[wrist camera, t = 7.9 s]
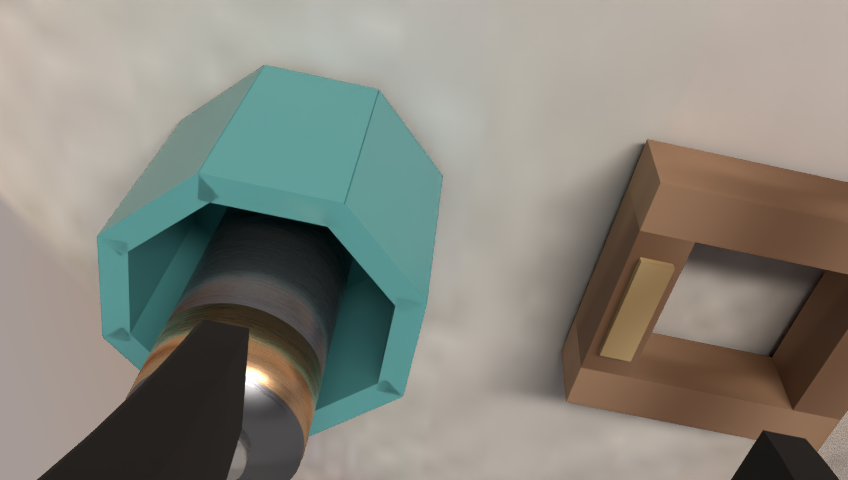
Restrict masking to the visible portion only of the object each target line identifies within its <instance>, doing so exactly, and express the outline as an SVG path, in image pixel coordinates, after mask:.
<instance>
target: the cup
mask: <svg viewBox="0 0 848 480" xmlns="http://www.w3.org/2000/svg"><path fill="white" fill-rule="evenodd" d="M378 90H379V89H374V88H370V87H365V86H360V85H356V84H351V83H346V82H342V81H337V80H332V79H328V78H323V77H318V76H314V75H309V74H305V73H300V72H295V71H291V70H286V69H281V68H277V67H272V66H267V65H265V66H264V65H263V66H262V67H260V68H259V69H257V70H256V71H254V72H253V73H251V74H250V75H248V76H247V77H245V78H244V79H242V80H241V81H239V82H238V83H236V84H235V85H233V86H232V87H230V88H229V89H227V90H226V91H224V92H223V93H221V94H220V95H218V96H217V97H215V98H214V99H212V100H211V101H209V102H208V103H206V104H205V105H203V106H202V107H200V108H199V109H197V110H196V111H194V112H193V113H191V114H190V115H188V116H187V117H185V118H184V119H182V120H181V121H180V123H179V124H178V126H177V127H176V128H175V130H174V131H173V132H172V134H171V135H170V137H169V138H168V139H167V141H166V142H165V143H164V145H163V146H162V148H161V149H160V150H159V152H158V153H157V154H156V156H155V157H154V159H153V160H152V161H151V163H150V164H149V165H148V167H147V168H146V169H145V171H144V172H143V174H142V175H141V176H140V178H139V179H138V180H137V182H136V183H135V185H134V186H133V187H132V189H131V190H130V191H129V193H128V194H127V196H126V197H125V198H124V200H123V201H122V202H121V204H120V205H119V207H118V208H117V209H116V211H115V212H114V213H113V215H112V216H111V218H110V219H109V220H108V222H107V223H106V224H105V226H104V227H103V228H102V230H101V231H100V233H99V234H98V236H97V244H98V262H99V281H100V299H101V318H102V336H103V338H104V339H105V340H107V341H108V342H109V343H110V344H111V345H112V346H113V347H114V348H116V349H117V350H118V351H119V352H120V353H121V354H122V355H123V356H124V357H125V358H127V359H128V360H129V361H130V362H131V363H132V364H133V365H135V366H136V367H137V368H138V369H139V370H140V371H141V369H142V367H143V365H144V363H145V361H146V359H147V357H148V356H149V354H150V352H151V350H152V348H153V346H154V344H155V342H156V340H157V338H158V336H159V335H160V333H161V331H162V329H163V328H164V326H165V325H166V324H167V322H168V320H169V318H170V316H171V314H172V312H173V310H174V308H175V306H176V304H177V302H178V301H179V299H180V297H181V295H182V293H183V291H184V289H185V287H186V285H187V283H188V281H189V279H190V278H191V276H192V274H193V272H194V270H195V268H196V266H197V264H198V262H199V260H200V258H201V257H202V255H203V253H204V251H205V249H206V247H207V245H208V243H209V241H210V239H211V237H212V235H213V234H214V232H215V230H216V228H217V226H218V224H219V222H220V220H221V218H222V216H223V214H224V212H225V211H226V209H227V207H228V206H230V207H235V208H240V209H244V210H249V211H254V212H259V213H264V214H269V215H273V216H278V217H283V218H288V219H293V220H298V221H303V222H307V223H312V224H317V225H322V226H327V227H328V228H329V229H330V230H331V231H332V232H333V234H334V235H335V236H336V237H337V238H338V239H339V241H340V242H341V243H342V244H343V245H344V246H345V248H346V249H347V250H348V251H349V252H350V253H351V255H352V256H353V257H354V258H353V262H352V265H351V269H350V273H349V277H348V281H347V285H346V288H345V292H344V296H343V300H342V304H341V308H340V312H339V315H338V319H337V323H336V327H335V331H334V335H333V339H332V342H331V346H330V350H329V354H328V358H327V362H326V366H325V369H324V373H323V377H322V385H321V389H320V393H319V397H318V401H317V405H316V408H315V412H314V416H313V420H312V424H311V428H310V432H309V436H311V435H314V434H316V433H318V432H321V431H323V430H325V429H328V428H330V427H332V426H335V425H337V424H339V423H342V422H344V421H347V420H349V419H351V418H354V417H356V416H358V415H361V414H363V413H365V412H368V411H370V410H373V409H375V408H377V407H380V406H382V405H384V404H387V403H389V402H391V401H394V400H396V399H399V398H401V397H402V396H403V395H404V391H405V387H406V383H407V379H408V375H409V371H410V368H411V364H412V360H413V356H414V352H415V348H416V344H417V340H418V336H419V333H420V329H421V325H422V321H423V317H424V313H425V309H426V305H427V299H428V291H429V283H430V275H431V267H432V259H433V251H434V243H435V235H436V226H437V218H438V210H439V202H440V194H441V186H442V178H443V176H442V174H441V173H440V171H439V170H438V168H437V167H436V166H435V164H434V163H433V162H432V160H431V159H430V158H429V156H428V155H427V154H426V152H425V151H424V149H423V148H422V147H421V145H420V144H419V143H418V141H417V140H416V139H415V137H414V136H413V135H412V133H411V132H410V131H409V129H408V128H407V126H406V125H405V124H404V122H403V121H402V120H401V118H400V117H399V116H398V114H397V113H396V112H395V110H394V109H393V107H392V106H391V105H390V103H389V102H388V101H387V99H386V98H385V97H384V95H383V94H382V93H381V91H380V90H379V91H378ZM309 436H308V437H309Z"/></svg>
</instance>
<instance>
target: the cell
mask: <svg viewBox="0 0 848 480" xmlns="http://www.w3.org/2000/svg"><path fill="white" fill-rule="evenodd" d="M353 258H354V257H353V256H352V255H351V253H350V252H349V251H348V250H347V249H346V248H345V246H344V245H343V244H342V243H341V242H340V241H339V239H338V238H337V237H336V236H335V235H334V234H333V232H332V231H331V230H330V229H329V228H328V227H327V226H322V225H317V224H312V223H307V222H303V221H298V220H293V219H288V218H283V217H278V216H273V215H269V214H264V213H259V212H254V211H249V210H244V209H240V208H235V207H230V206H228V207H227V209H226V211H225V212H224V214H223V216H222V218H221V220H220V222H219V224H218V226H217V228H216V230H215V232H214V234H213V235H212V237H211V239H210V241H209V243H208V245H207V247H206V249H205V251H204V253H203V255H202V257H201V258H200V260H199V262H198V264H197V266H196V268H195V270H194V272H193V274H192V276H191V278H190V279H189V281H188V283H187V285H186V287H185V289H184V291H183V293H182V295H181V297H180V299H179V301H178V302H177V304H176V306H175V308H174V310H173V312H172V314H171V316H170V318H169V320H168V322H167V324H166V325H165V326H164V328H163V329H162V331H161V333H160V335H159V336H158V338H157V340H156V342H155V344H154V346H153V348H152V350H151V352H150V354H149V356H148V357H147V359H146V361H145V363H144V365H143V367H142V369H141V371H140V373H139V375H138V377H137V378H136V381H135V382H134V384H133V386H132V388H131V390H130V392H129V394H128V396H127V398H128V397H129V396H130V395H131V394H132V393H133V392H135V391H136V390H137V389H138V388H139V387H140V385H141V384H142V383H143V382H144V381H145V380H146V379H147V378H148V377H149V376H150V375H151V374H152V373H153V372H154V371H155V370H156V369H157V368H158V367H159V366H160V365H161V364H162V363H163V362H164V361H165V360H166V359H167V357H168V356H169V355H170V354H171V353H172V352H173V351H174V350H175V349H176V348H177V346H178V345H179V344H180V343H181V342H182V341H183V340H184V339H185V338H186V336H187V335H188V334H189V333H190V332H191V331H192V329H193V328H194V327H195V326H196V325H197V324H198V323H200V322H202V321H204V320H210V321H215V322H220V323H225V324H230V325H235V326H240V327H245V328H250V329H249V343H248V356H247V369H246V382H245V395H244V408H243V421H242V430H241V434H240V437H239V440H238V444H237V447H236V450H235V454H234V457H233V460H232V464H231V467H230V470H229V473H228V477H227V480H290V479H291V478H292V477H293V476H294V474H295V473H296V471H297V469H298V467H299V465H300V462H301V460H302V458H303V455H304V451H305V447H306V443H307V439H308V436H309V432H310V428H311V424H312V420H313V416H314V412H315V408H316V405H317V401H318V397H319V393H320V389H321V385H322V377H323V373H324V369H325V366H326V362H327V358H328V354H329V350H330V346H331V342H332V339H333V335H334V331H335V327H336V323H337V319H338V315H339V312H340V308H341V304H342V300H343V296H344V292H345V288H346V285H347V281H348V277H349V273H350V269H351V265H352V262H353ZM127 398H126V399H127Z"/></svg>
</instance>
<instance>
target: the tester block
mask: <svg viewBox="0 0 848 480" xmlns="http://www.w3.org/2000/svg"><path fill="white" fill-rule="evenodd" d="M695 242H696V243H701V244H706V245H711V246H715V247H720V248H725V249H730V250H734V251H739V252H744V253H749V254H754V255H758V256H763V257H768V258H773V259H777V260H782V261H787V262H792V263H796V264H801V265H806V266H811V267H815V268H820V269H825V270H826V271H825V273H824V274H823V276H822V277H821V279H820V281H819V282H818V284H817V286H816V287H815V289H814V290H813V292H812V294H811V295H810V297H809V298H808V300H807V302H806V303H805V305H804V307H803V308H802V310H801V311H800V313H799V315H798V316H797V318H796V319H795V321H794V323H793V324H792V326H791V328H790V329H789V331H788V332H787V334H786V336H785V337H784V339H783V341H782V342H781V344H780V345H779V347H778V349H777V350H776V352H775V353H774V355H773V357H768V356H763V355H758V354H753V353H748V352H743V351H739V350H734V349H729V348H724V347H719V346H714V345H709V344H704V343H699V342H695V341H690V340H685V339H680V338H675V337H670V336H665V335H660V334H655V333H652V331H653V328H654V326H655V324H656V322H657V320H658V318H659V316H660V314H661V312H662V310H663V308H664V306H665V304H666V302H667V300H668V298H669V295H670V293H671V291H672V289H673V287H674V285H675V283H676V281H677V279H678V277H679V275H680V273H681V271H682V269H683V267H684V265H685V263H686V260H687V258H688V256H689V254H690V252H691V250H692V248H693V246H694V244H695ZM562 358H563V370H564V382H565V394H566V402H569V403H574V404H579V405H584V406H589V407H594V408H599V409H604V410H609V411H614V412H620V413H625V414H630V415H635V416H640V417H645V418H650V419H655V420H660V421H665V422H670V423H675V424H680V425H685V426H690V427H695V428H700V429H705V430H710V431H715V432H720V433H725V434H730V435H735V436H740V437H745V438H750V439H755V440H757V439H758V437H759V436H760V434H761V432H762V431H763V430H765V431H770V432H775V433H780V434H785V435H790V436H795V437H800V438H805V439H806V440H807V441H808V442H809V443H810V444H811V445H812V447H813V448H814V449H815V450H816V451H818V450H819V449H820V447H821V446H822V445H823V443H824V442H825V440H826V439H827V438H828V436H829V435H830V434H831V432H832V431H833V430H834V428H835V427H836V425H837V424H838V423H839V421H840V420H841V419H842V417H843V416H844V415H845V413H846V412H847V411H848V182H843V181H839V180H834V179H829V178H825V177H820V176H815V175H811V174H806V173H802V172H797V171H792V170H788V169H783V168H778V167H774V166H769V165H764V164H760V163H755V162H750V161H746V160H741V159H737V158H732V157H727V156H723V155H718V154H713V153H709V152H704V151H699V150H695V149H690V148H685V147H681V146H676V145H672V144H667V143H662V142H658V141H653V140H648V139H647V141H646V144H645V146H644V149H643V151H642V153H641V156H640V158H639V161H638V163H637V166H636V168H635V171H634V173H633V176H632V178H631V181H630V183H629V186H628V188H627V191H626V193H625V196H624V198H623V200H622V203H621V205H620V208H619V210H618V213H617V215H616V218H615V220H614V223H613V225H612V228H611V230H610V233H609V235H608V238H607V240H606V243H605V245H604V247H603V250H602V252H601V255H600V257H599V260H598V262H597V265H596V267H595V270H594V272H593V275H592V277H591V280H590V282H589V285H588V287H587V290H586V292H585V295H584V297H583V299H582V302H581V304H580V307H579V309H578V312H577V314H576V317H575V319H574V322H573V324H572V327H571V329H570V332H569V334H568V337H567V339H566V342H565V344H564V346H563V349H562Z"/></svg>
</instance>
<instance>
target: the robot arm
mask: <svg viewBox="0 0 848 480" xmlns="http://www.w3.org/2000/svg"><path fill="white" fill-rule="evenodd" d="M249 329H250V328H245V327H240V326H235V325H230V324H225V323H220V322H215V321H210V320H204V321H202V322H200V323H198V324H197V325H196V326H195V327H194V328H193V329H192V331H191V332H190V333H189V334H188V335H187V336H186V338H185V339H184V340H183V341H182V342H181V343H180V344H179V345H178V346H177V348H176V349H175V350H174V351H173V352H172V353H171V354H170V355H169V356H168V357H167V359H166V360H165V361H164V362H163V363H162V364H161V365H160V366H159V367H158V368H157V369H156V370H155V371H154V372H153V373H152V374H151V375H150V376H149V377H148V378H147V379H146V380H145V381H144V382H143V383H142V384H141V385H140V387H139V388H138V389H137V390H136V391H135V392H133V393H132V394H131V395H130V396H129V397H128V398H127V399H126V400H125V401H124V402H123V403H122V404H121V405H120V406H119V407H118V408H117V409H116V410H115V411H114V412H113V413H112V414H111V415H109V417H107V418H106V419H105V421H103V422H102V423H101V424H100V425H99V426H98V427H97V428H96V429H95V430H94V431H93V432H91V433H90V434H89V435H88V436H87V437H86V438H85V439H84V440H83V441H82V442H80V443H79V444H78V445H77V446H76V447H74V449H72V450H71V451H70V452H69V453H67V454H66V455H65V456H64V457H63V458H62V459H61V460H59V461H58V462H57V463H56V464H55V465H54V466H52V468H50V469H49V470H48V471H47V472H46V473H44V474H43V475H42V476H41V477H40V478H39V479H37V480H227V477H228V473H229V470H230V467H231V464H232V460H233V457H234V454H235V450H236V447H237V444H238V440H239V437H240V434H241V430H242V421H243V408H244V395H245V382H246V369H247V356H248V343H249ZM731 480H839V479H838V477H837V476H836V475H835V474H834V472H833V471H832V470H831V469H830V467H829V466H828V465H827V464H826V462H825V461H824V460H823V459H822V457H821V456H820V455H819V454H818V453H817V451H816V450H815V449H814V448H813V447H812V445H811V444H810V443H809V442H808V441H807V440H806V439H805V438H800V437H795V436H790V435H785V434H780V433H775V432H770V431H765V430H763V431H762V432H761V434H760V436H759V437H758V439H757V440H756V442H755V443H754V445H753V447H752V448H751V450H750V451H749V453H748V454H747V456H746V457H745V459H744V461H743V462H742V464H741V465H740V467H739V468H738V470H737V471H736V473H735V475H734V476H733V478H732V479H731Z"/></svg>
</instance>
